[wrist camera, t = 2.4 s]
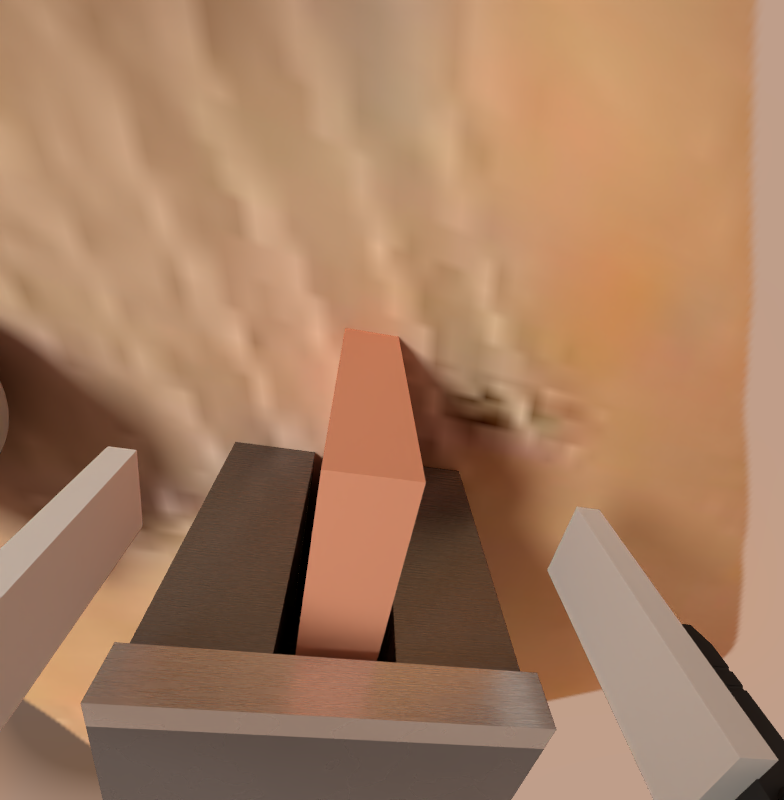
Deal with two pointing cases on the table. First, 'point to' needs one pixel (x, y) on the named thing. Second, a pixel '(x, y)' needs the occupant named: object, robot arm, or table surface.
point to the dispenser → (314, 665)
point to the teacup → (3, 417)
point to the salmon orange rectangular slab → (362, 503)
